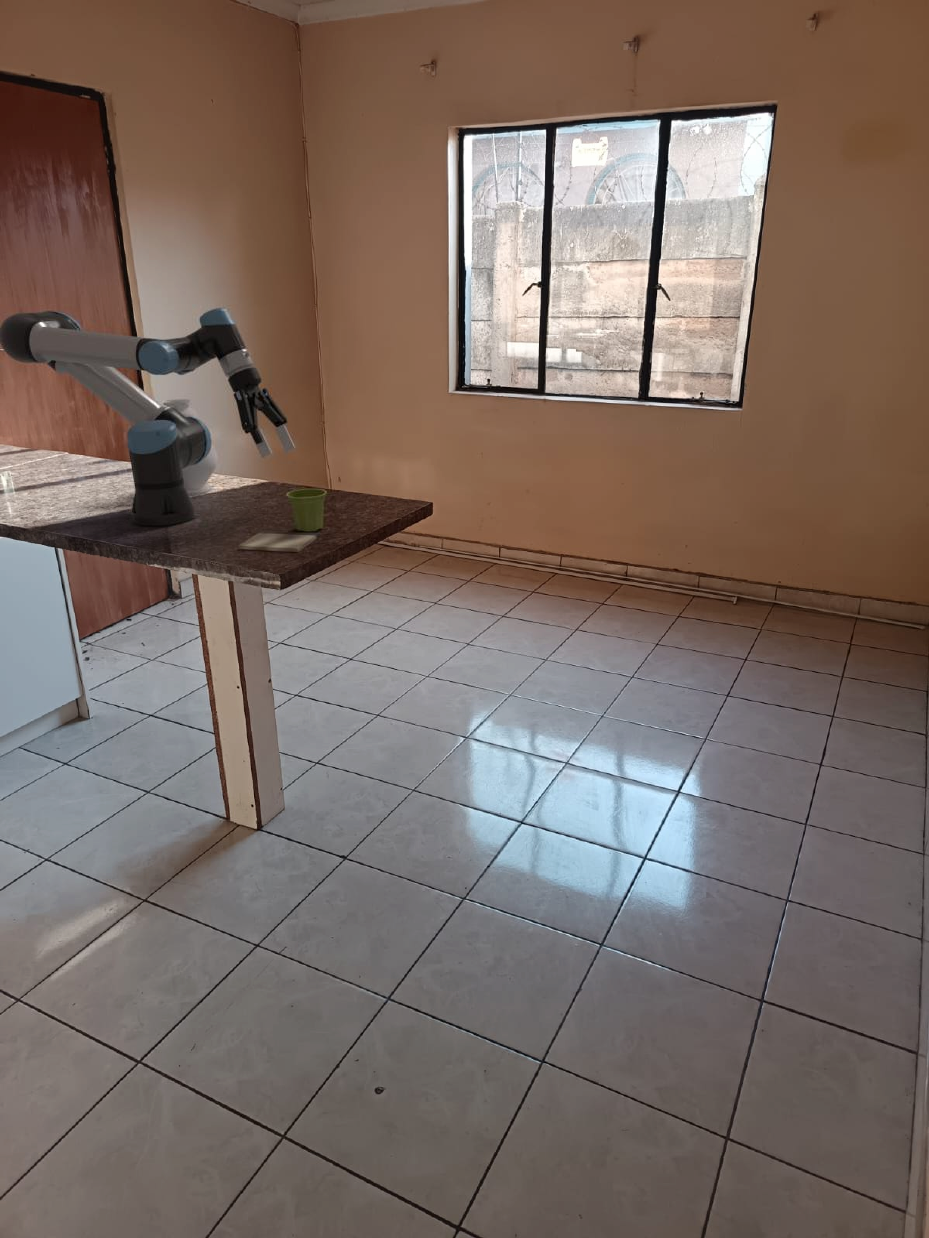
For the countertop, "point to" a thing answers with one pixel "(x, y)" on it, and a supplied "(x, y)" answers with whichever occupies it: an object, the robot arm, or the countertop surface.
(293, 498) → the plant pot
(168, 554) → the countertop surface
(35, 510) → the countertop surface
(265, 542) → the board
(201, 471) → the decorative vase
